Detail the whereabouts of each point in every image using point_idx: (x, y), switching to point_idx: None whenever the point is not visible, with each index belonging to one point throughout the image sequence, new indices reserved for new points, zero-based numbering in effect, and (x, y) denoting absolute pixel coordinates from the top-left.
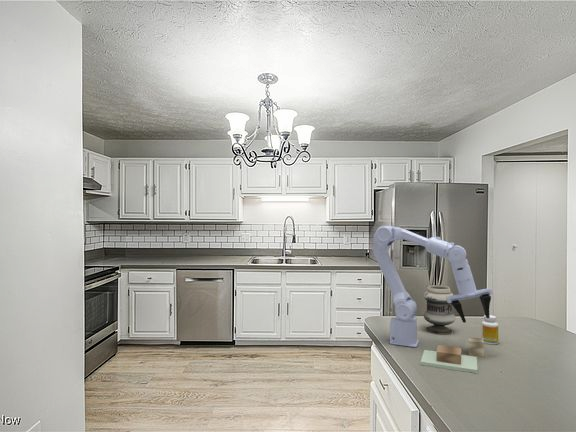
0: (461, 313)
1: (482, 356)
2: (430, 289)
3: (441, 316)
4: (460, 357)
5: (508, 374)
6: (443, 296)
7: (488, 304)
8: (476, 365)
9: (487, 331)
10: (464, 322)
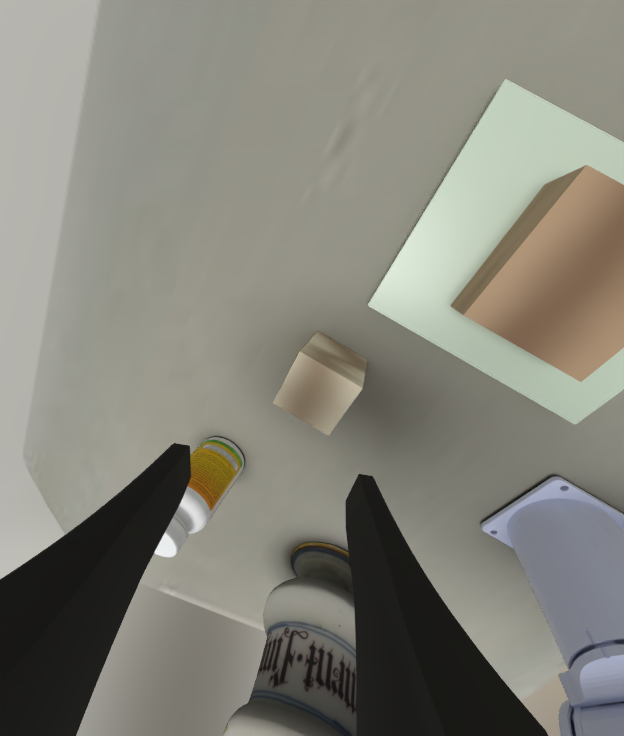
0: (404, 558)
1: (322, 334)
2: None
3: (329, 624)
4: (575, 173)
5: (327, 93)
6: None
7: (43, 563)
8: (452, 173)
9: (212, 478)
10: (371, 476)
